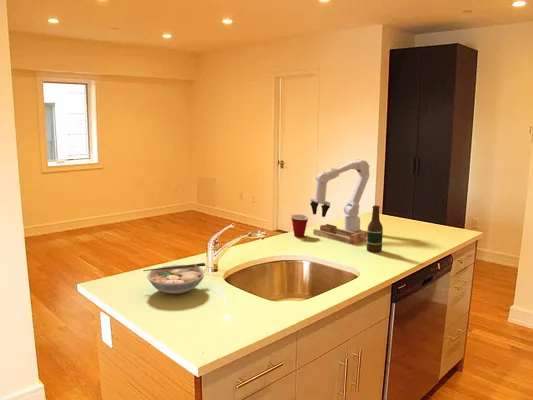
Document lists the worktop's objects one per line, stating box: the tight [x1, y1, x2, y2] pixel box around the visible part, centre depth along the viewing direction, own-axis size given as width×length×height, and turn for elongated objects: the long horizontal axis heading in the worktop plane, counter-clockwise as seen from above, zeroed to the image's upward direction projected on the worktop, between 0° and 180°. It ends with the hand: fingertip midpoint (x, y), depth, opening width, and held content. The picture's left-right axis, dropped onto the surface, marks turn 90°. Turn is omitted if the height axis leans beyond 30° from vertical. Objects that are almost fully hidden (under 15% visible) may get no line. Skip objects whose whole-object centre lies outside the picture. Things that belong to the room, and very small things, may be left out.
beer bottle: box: [366, 205, 384, 254], centre depth 237 cm, size 8×8×24 cm
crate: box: [319, 223, 338, 235], centre depth 273 cm, size 7×7×5 cm
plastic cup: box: [290, 214, 310, 238], centre depth 268 cm, size 11×11×12 cm
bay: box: [312, 227, 367, 245], centre depth 266 cm, size 13×30×5 cm, turn 40°
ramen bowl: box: [142, 262, 206, 295], centre depth 181 cm, size 25×23×8 cm
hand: (319, 215), depth 277 cm, fingers open, 7 cm apart
